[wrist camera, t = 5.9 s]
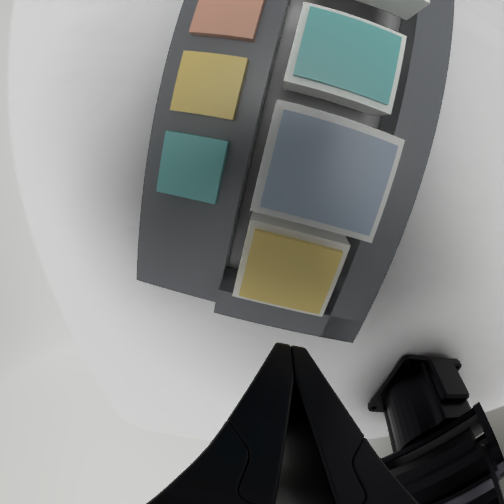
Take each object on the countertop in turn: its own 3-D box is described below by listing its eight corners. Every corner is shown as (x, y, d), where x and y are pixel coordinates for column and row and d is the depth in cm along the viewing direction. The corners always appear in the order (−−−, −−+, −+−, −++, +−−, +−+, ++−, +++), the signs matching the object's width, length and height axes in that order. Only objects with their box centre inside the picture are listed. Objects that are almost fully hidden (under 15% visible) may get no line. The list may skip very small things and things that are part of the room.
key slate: (350, 213, 13) (374, 246, 10) (258, 188, 13) (248, 213, 10) (373, 135, 12) (408, 140, 8) (278, 107, 12) (276, 97, 8)
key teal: (366, 116, 13) (393, 114, 10) (283, 92, 13) (283, 79, 10) (380, 54, 12) (409, 34, 8) (299, 28, 12) (303, -2, 8)
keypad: (345, 317, 18) (352, 342, 16) (146, 268, 18) (129, 288, 16) (436, -14, 9) (454, -28, 7) (222, -69, 9) (213, -90, 7)
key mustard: (315, 279, 17) (322, 320, 13) (242, 261, 17) (231, 299, 13) (336, 219, 16) (351, 248, 12) (257, 198, 16) (248, 221, 12)
